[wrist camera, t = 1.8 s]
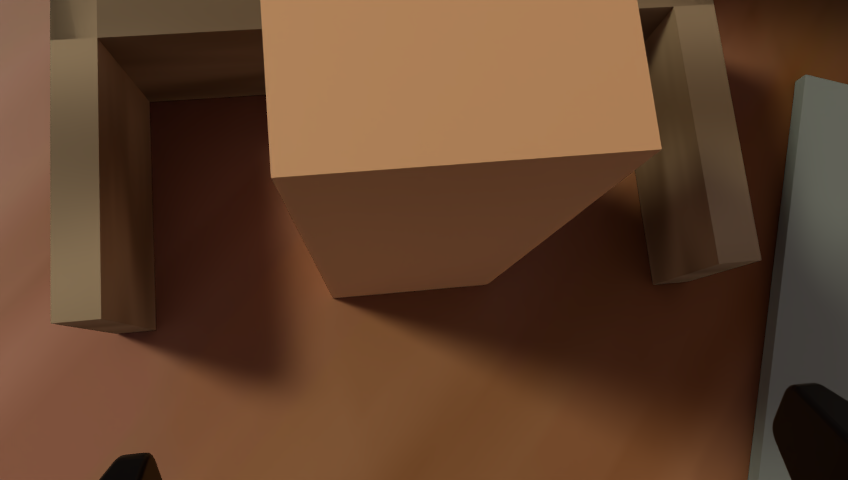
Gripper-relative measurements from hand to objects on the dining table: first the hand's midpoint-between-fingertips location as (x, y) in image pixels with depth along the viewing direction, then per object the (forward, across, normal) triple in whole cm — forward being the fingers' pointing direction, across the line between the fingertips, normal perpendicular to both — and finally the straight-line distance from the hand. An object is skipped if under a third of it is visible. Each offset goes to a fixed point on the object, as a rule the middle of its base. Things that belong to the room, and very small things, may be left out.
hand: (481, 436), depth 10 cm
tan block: (+13, 0, +4) cm, 14 cm away
